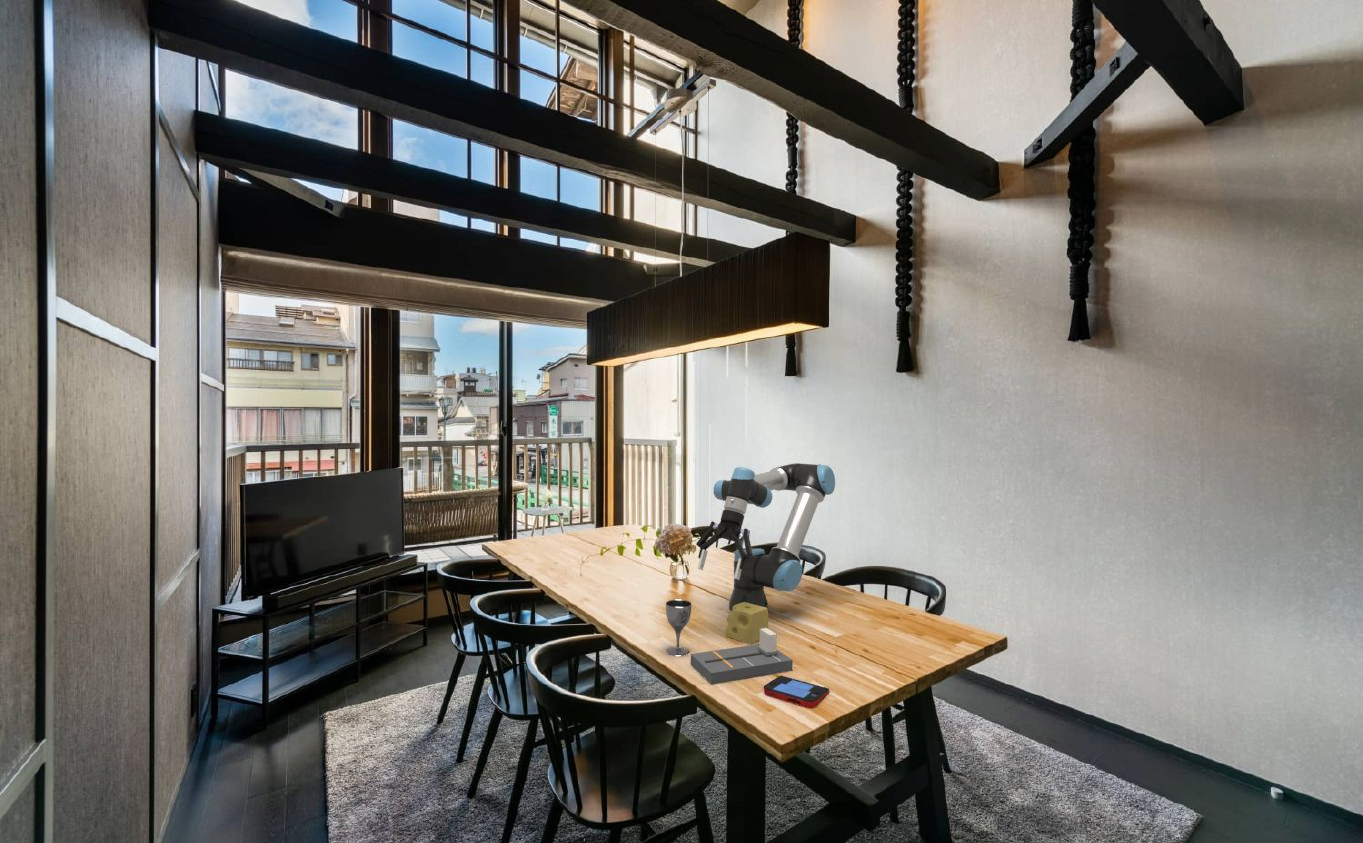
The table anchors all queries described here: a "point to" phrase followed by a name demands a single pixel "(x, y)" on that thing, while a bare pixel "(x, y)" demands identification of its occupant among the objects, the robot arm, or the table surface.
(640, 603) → the table surface
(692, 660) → the board
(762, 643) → the fader
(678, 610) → the wine glass
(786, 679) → the red and black smartphone
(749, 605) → the cheese
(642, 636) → the table surface
